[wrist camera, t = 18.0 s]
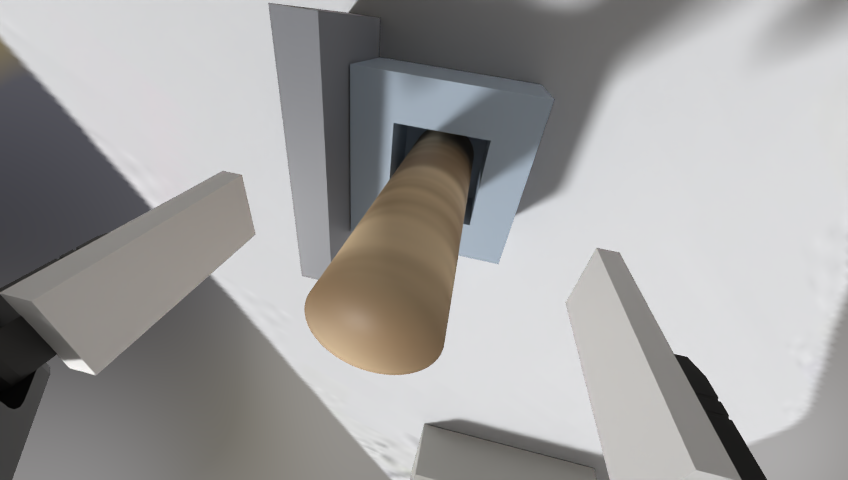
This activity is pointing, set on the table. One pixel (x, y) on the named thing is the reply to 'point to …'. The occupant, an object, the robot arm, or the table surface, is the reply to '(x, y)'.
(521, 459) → the tray
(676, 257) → the table surface
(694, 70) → the table surface
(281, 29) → the wall
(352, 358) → the dowel
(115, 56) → the table surface
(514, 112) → the block
